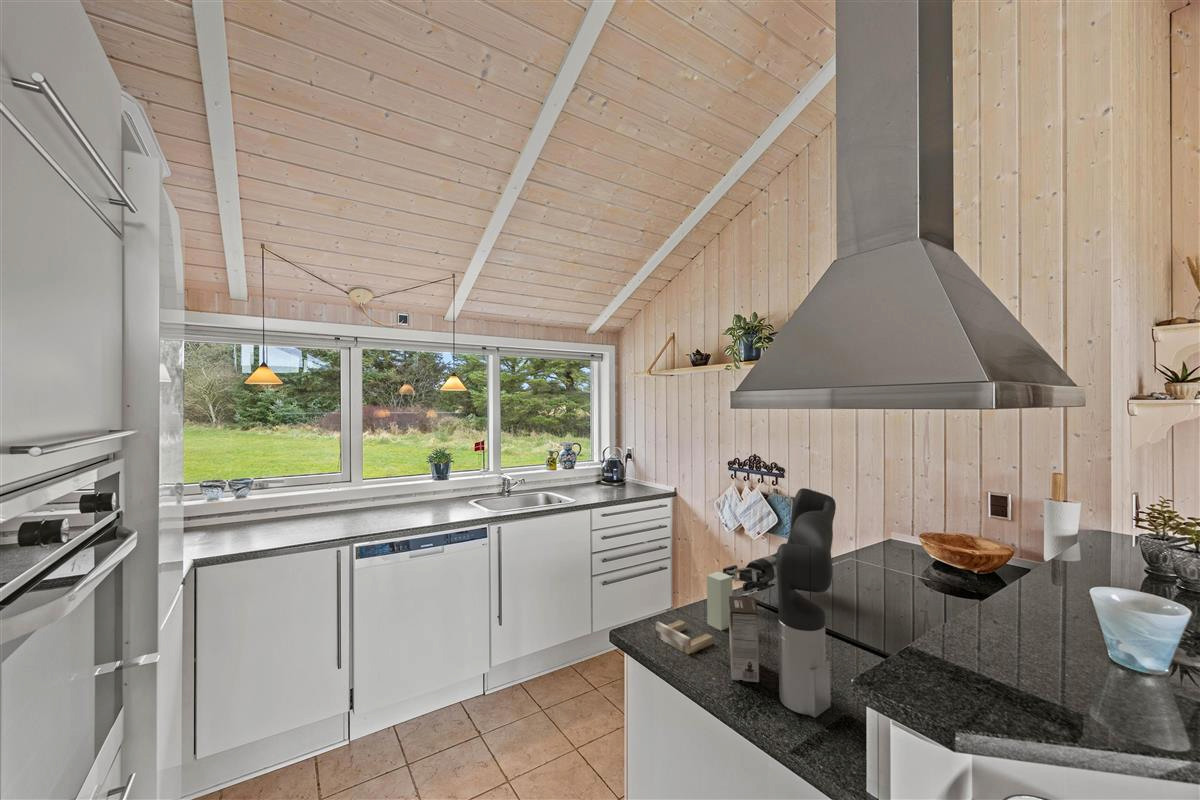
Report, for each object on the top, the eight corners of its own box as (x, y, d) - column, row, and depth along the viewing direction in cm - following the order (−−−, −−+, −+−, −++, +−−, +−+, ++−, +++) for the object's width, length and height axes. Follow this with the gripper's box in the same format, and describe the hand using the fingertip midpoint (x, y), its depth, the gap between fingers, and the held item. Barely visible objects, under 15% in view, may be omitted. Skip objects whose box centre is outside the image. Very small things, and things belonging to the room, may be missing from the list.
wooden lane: (712, 643, 129) (712, 628, 129) (688, 655, 124) (688, 639, 124) (680, 627, 139) (679, 612, 139) (655, 636, 134) (655, 622, 134)
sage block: (732, 625, 140) (732, 576, 140) (721, 630, 137) (720, 580, 137) (719, 619, 144) (718, 571, 144) (707, 624, 141) (706, 575, 141)
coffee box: (729, 659, 122) (728, 594, 122) (756, 661, 120) (755, 596, 120) (731, 680, 113) (730, 610, 113) (760, 683, 111) (759, 612, 111)
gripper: (745, 552, 159) (712, 564, 150) (785, 564, 148) (752, 577, 138) (745, 575, 159) (712, 588, 150) (785, 589, 148) (752, 604, 138)
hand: (731, 583), depth 144 cm, fingers open, 8 cm apart
